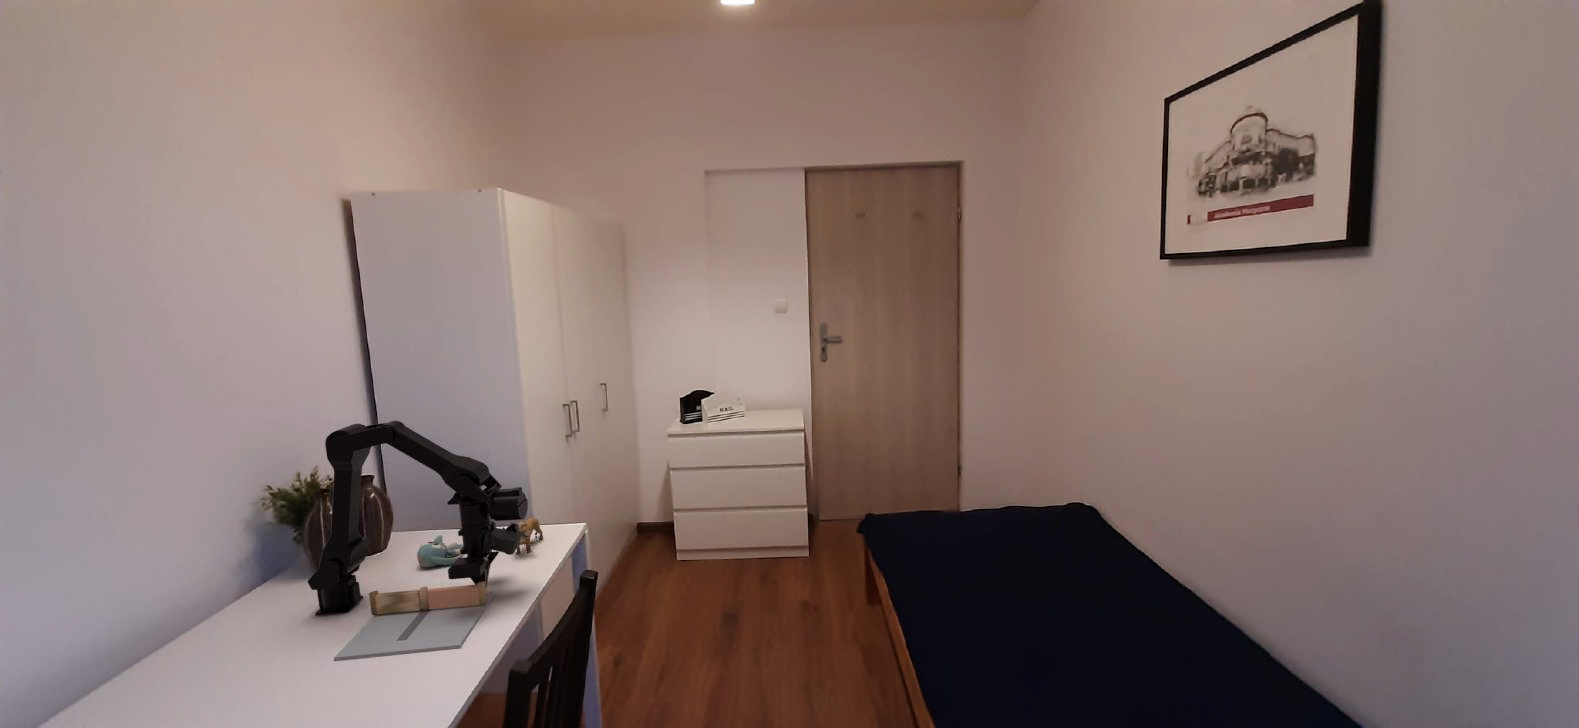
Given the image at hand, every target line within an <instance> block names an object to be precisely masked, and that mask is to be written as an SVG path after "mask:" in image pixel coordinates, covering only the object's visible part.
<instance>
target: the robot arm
mask: <svg viewBox="0 0 1579 728" xmlns="http://www.w3.org/2000/svg"><path fill="white" fill-rule="evenodd" d="M324 444H325V447H324V448H325V452H326V453H325V454H326V459H327V461H328V462H329V464H330V466H331V468H332V469H333V485H332V502H331V503H332V505H331V520H330V521H331V523H330V536H329V538H328V539H327V541H326V544H325V545H324V547H323V549H322V552H321V556H320V560H319V563H318V569H317V570H316V572H314V574H313V575H311V577H310V578H308V580H307V584H308V586H309V587H310V589H311V591H316V593H317V594H316V595H317V600H318V606H319V609H318V610H317V611H315V612H314V615H315V616H325V615H335V614H346V613H349V612H350V611H351V610H352V609H353V608H354V607H355V606H356V605H357V604H359V603H360V602H361V601H362V600H363V599H364V595H362V594H361V589H360V588H361V587H360V582H359V581H357V575H356V574H355V573H356V572H358V571H359V570H360V566H361V564H362V563H363V562H364V561H365V560H366V557H367V556H368V555H369V554H370V551H369V543H370V537H367V536H366V537H363V536H362V534H361V533H360V531H359V530H360V529H359V523H360V522H359V521H360V508H361V507H360V506H361V505H360V504H361V492H362V491H361V490H362V473H363V466H364V464H365V462H366V460H367V458H368V456H369V454H370V453H371V450H372V447H376V446H380V445H384V444H387V445H389V446H390V447H392V448H393V449H396V450H398V451H399V452H400V453H402V454H405V456H407V457H409V458H411V459H413V460H414V461H416V462H418V463H420V464H421V465H423V466H425V467H426V468H429V469H430V470H433V471H434V472H435V473H437V475H439V477H441V479H442V480H443V483H444V484H445V485H446V486H448V487H449V488H451V489H452V491H454V494H453V496H451V498H450V499H449V500H448V501H447V502H446V503H447V505H449V506H453V505H458V510H459V521H460V529H458V531H457V534H458V537H462V538H461V539H462V544H463V547H462V548H461V550H460V554H463V555H467V556H466V557H465V556H463V557H462V558H458V559H457V560H456V561H455V562H454V563H453V564H452V565H450V567H449V568H448V569H447V576H448V579H449V580H458V579H459V580H461V579H462V580H463V579H470V580H471V581H472V582H473V583H474V585H477V583H478V582H481V581H484V582H485V585H486V588H487V586H488V580H489V577H490V576H489V575H490V569H491V565H492V563H493V562H494V560H495V559H496V557H497V556H498V555H499V553H504V554H505V555H514V554H515V553H516V551H517V548H518V544H519V541H520V538H521V537H522V535H521V531H520V530H519V526H518V524H517V523H515V522H511V523H509V525H507V527H506V528H505V527H502V528H499V527H497V525H496V522H503V521H520V520H521V521H522V520H525V519H526V516H527V514H528V508H529V504H528V503H529V502H528V498H527V496H526V494H525V492H523V487H521V486H519V487H518V486H516V487H512V488H502V487H503V485H502V484H501V483H500V482H499V481H498V480H497V479H496V478H495V477H494V475H492V474H491V473H490V468H489V466H488V465H487V464H486V463H485V462H482V461H480V460H477V459H474V458H472V457H471V456H470V457H469V456H464V455H459V454H455V453H452V452H450V451H449V450H447V449H446V448H444V447H442V446H440V445H439V444H436V443H435V442H434V441H432V440H430V439H428V438H426V437H424V436H423V435H421V434H419V433H418V432H416V431H414V430H413V429H411V428H410V427H408V426H406V425H405V423H403V422H402V421H399V420H392V421H389V422H381V423H380V422H379V423H373V424H370V425H369V424H368V425H364V424H362V423H352V424H350V425H347V426H345V427H342V428H339V429H336V430H334V431H332V432H331V433H329V435H327V436H326V438H325V443H324ZM482 487H485V488H484V489H482ZM460 554H459V555H460Z"/></svg>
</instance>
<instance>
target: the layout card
mask: <svg viewBox="0 0 1579 728" xmlns="http://www.w3.org/2000/svg"><path fill="white" fill-rule="evenodd" d="M486 594H487V603H486V604H484V605H472V606H462V607H451V608H440V609H428V610H423V608H421V609H420V610H419V611H408V612H397V613H386V614H377V615H372V616H373V617H371V618H370V620H368V621H367V623H365V625H363V626H362V628H360V630H359V631H357V633H355V635H354V636H353V637H352V638H351V639H350V640H349V641H348V643H347V644H345V646H344V647H342V649H341V650H339V651H338V652H337V654H336V655H335V656H334V657H333V660H334V661H344V660H355V659H364V658H373V657H374V658H375V657H382V656H383V657H384V656H392V655H393V656H394V655H404V654H413V653H415V654H416V653H422V652H423V653H426V652H434V651H445V650H453V649H460V648H462V647H463V644H464V643H465V641H466V640H467V638H468V637H469V635H471V633H472V631H473V630H474V628H475V627H476V624H478V623H479V620H480V619H481V617H482V615H484V612H485V610H486V609H487V608H488V607H489V604H490V603H491V602H492V600H493V598H494V597H495V595H496V593H495V592H486ZM421 602H422V600H421Z"/></svg>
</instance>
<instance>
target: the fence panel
mask: <svg viewBox="0 0 1579 728" xmlns="http://www.w3.org/2000/svg"><path fill="white" fill-rule="evenodd" d="M419 590H420V594H421V600H422V608H423V610H428V609H440V608H451V607H462V606H472V605H484V604H486V603H487V594H486V593H487V587H486V585H485V582H484V581H481V582H478V583H477V585H475V584H467V585H457V586H456V585H455V586H446V587H433V588H429V587H428V586H422V587H421V588H420V589H419Z"/></svg>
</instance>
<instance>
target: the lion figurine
mask: <svg viewBox="0 0 1579 728" xmlns="http://www.w3.org/2000/svg"><path fill="white" fill-rule="evenodd" d="M516 524H518V526H519V530H520V531H521V535H522V537H521V538H520V541H519V544H518V548H517V549H516V551H515V552H514V554H515V555H516V556H519V555H520V554H521V552H522V551H521V546H523V545H526V546H525V547H526V548H525V552H526V554H531V553H532V552H533V551H532V548H531V536H532V534H533V532H534V531H535V533H534V536H538V534H539V536H538V540H541V541H542V540H543V539H544V535H543V530H542V529H541V527H540V523H539V519H537V518H535V517H530V518H528V519H526V520H525V521H519V522H516Z"/></svg>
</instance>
